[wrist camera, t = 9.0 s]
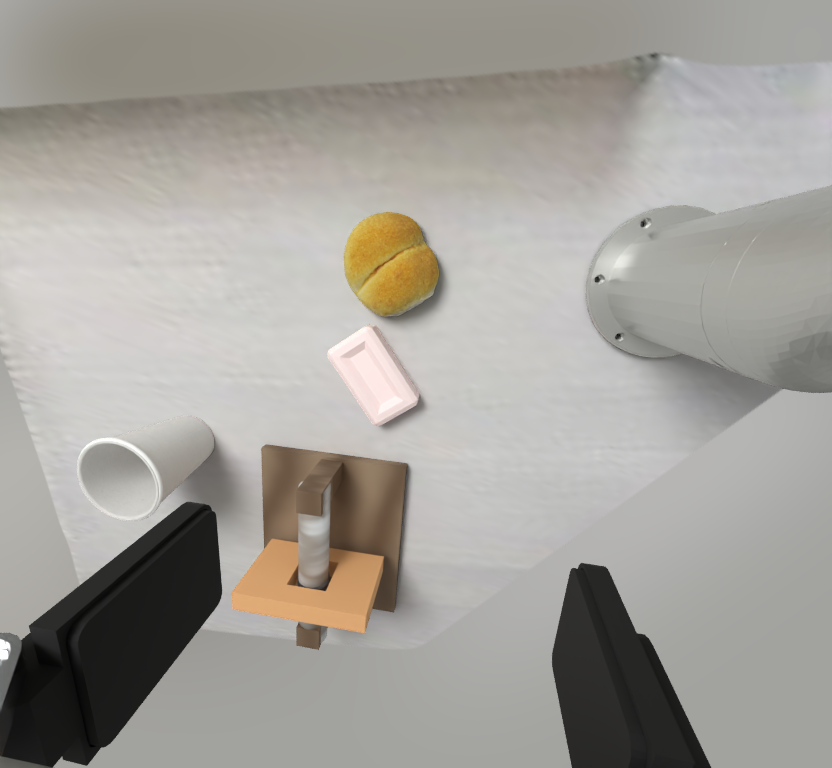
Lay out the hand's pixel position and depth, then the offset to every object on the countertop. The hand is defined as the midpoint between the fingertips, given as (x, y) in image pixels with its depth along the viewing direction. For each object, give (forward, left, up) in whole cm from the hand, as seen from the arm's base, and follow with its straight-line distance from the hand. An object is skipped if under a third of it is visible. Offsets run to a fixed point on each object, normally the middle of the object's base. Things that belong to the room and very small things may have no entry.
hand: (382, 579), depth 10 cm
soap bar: (+7, +3, -31) cm, 31 cm away
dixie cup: (+28, +13, -30) cm, 43 cm away
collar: (+11, +24, -28) cm, 38 cm away
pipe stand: (+11, +22, -30) cm, 39 cm away
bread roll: (+6, -8, -31) cm, 32 cm away
